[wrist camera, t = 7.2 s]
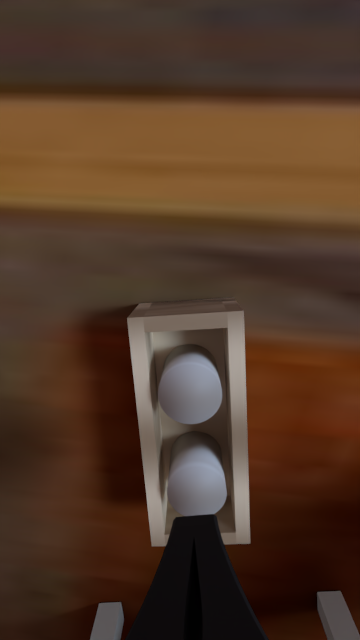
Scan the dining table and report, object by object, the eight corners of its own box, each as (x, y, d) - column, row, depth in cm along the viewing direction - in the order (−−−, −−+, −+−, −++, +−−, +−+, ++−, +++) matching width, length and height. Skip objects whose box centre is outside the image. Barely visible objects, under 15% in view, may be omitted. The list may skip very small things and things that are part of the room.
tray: (139, 303, 18) (124, 320, 14) (233, 297, 17) (245, 313, 14) (158, 495, 20) (150, 555, 16) (240, 492, 20) (252, 552, 16)
